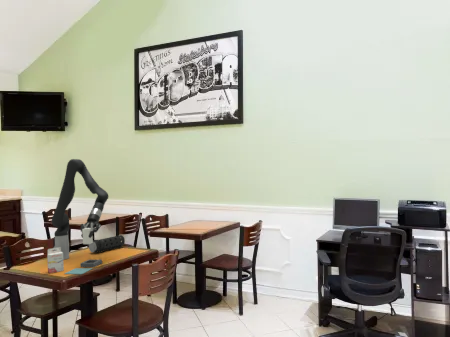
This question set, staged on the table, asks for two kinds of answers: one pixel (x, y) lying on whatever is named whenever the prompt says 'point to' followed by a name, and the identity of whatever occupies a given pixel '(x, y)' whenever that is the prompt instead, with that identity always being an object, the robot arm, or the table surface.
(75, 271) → the mat
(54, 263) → the ink cartridge box
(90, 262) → the dock
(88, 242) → the plug
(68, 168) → the robot arm
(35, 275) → the table surface
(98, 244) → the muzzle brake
